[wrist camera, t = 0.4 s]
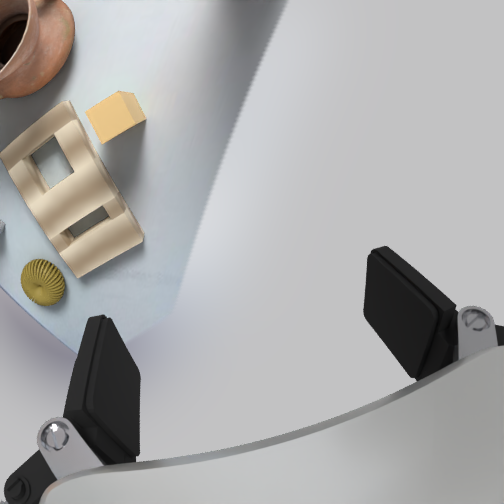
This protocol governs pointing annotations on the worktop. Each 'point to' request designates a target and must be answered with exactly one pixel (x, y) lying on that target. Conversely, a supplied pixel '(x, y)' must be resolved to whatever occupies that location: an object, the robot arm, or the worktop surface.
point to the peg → (115, 115)
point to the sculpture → (42, 282)
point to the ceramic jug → (32, 44)
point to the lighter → (2, 226)
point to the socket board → (72, 192)
